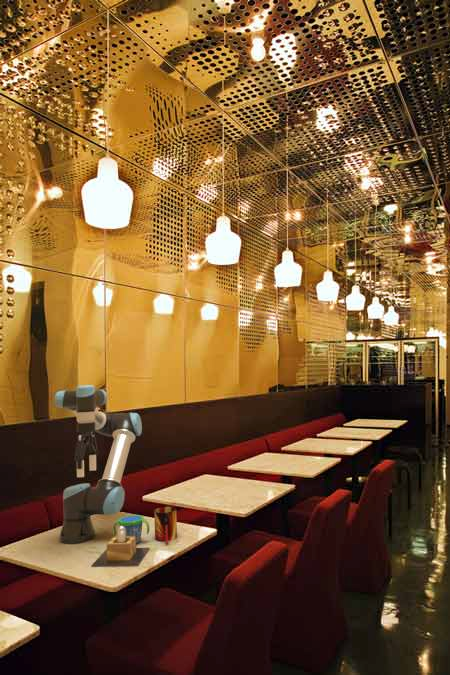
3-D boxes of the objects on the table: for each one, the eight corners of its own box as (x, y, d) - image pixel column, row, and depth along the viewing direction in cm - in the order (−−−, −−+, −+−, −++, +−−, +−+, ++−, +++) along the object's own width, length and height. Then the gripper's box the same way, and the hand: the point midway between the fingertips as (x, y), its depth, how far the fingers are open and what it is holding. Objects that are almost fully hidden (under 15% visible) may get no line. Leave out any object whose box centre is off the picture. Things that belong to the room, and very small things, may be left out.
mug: (166, 545, 196) (165, 516, 197) (151, 537, 207) (150, 510, 208) (186, 540, 202) (185, 511, 203) (170, 532, 213) (169, 505, 214)
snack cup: (109, 546, 199) (108, 521, 200) (120, 538, 209) (119, 514, 210) (143, 547, 195) (143, 522, 196) (153, 538, 206) (152, 515, 207)
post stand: (107, 549, 195) (106, 519, 196) (149, 548, 193) (149, 518, 195) (91, 566, 177) (90, 533, 178) (138, 566, 176) (137, 532, 177)
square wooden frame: (114, 552, 190) (114, 536, 191) (136, 551, 189) (135, 536, 190) (107, 560, 181) (106, 544, 182) (129, 560, 181) (129, 544, 181)
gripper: (88, 419, 210) (89, 468, 208) (64, 425, 185) (65, 480, 183) (104, 419, 209) (105, 467, 207) (83, 424, 185) (84, 479, 183)
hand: (86, 473), depth 195 cm, fingers open, 13 cm apart
